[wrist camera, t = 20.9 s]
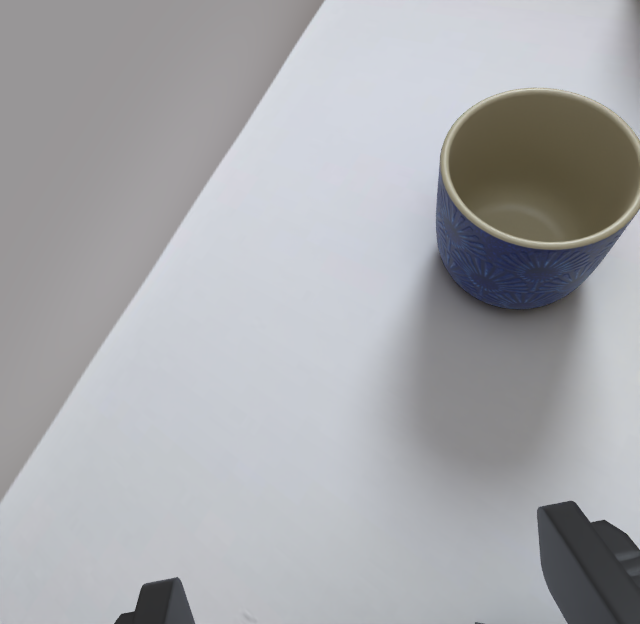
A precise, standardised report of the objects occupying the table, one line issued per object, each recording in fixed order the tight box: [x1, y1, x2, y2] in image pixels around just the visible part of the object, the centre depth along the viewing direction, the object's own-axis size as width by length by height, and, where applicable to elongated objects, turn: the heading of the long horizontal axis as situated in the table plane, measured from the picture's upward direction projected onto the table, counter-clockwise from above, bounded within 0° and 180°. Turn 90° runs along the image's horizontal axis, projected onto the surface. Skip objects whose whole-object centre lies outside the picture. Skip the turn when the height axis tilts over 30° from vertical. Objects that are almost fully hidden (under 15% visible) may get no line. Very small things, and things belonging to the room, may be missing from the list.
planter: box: [436, 88, 640, 309], centre depth 42 cm, size 12×12×11 cm
